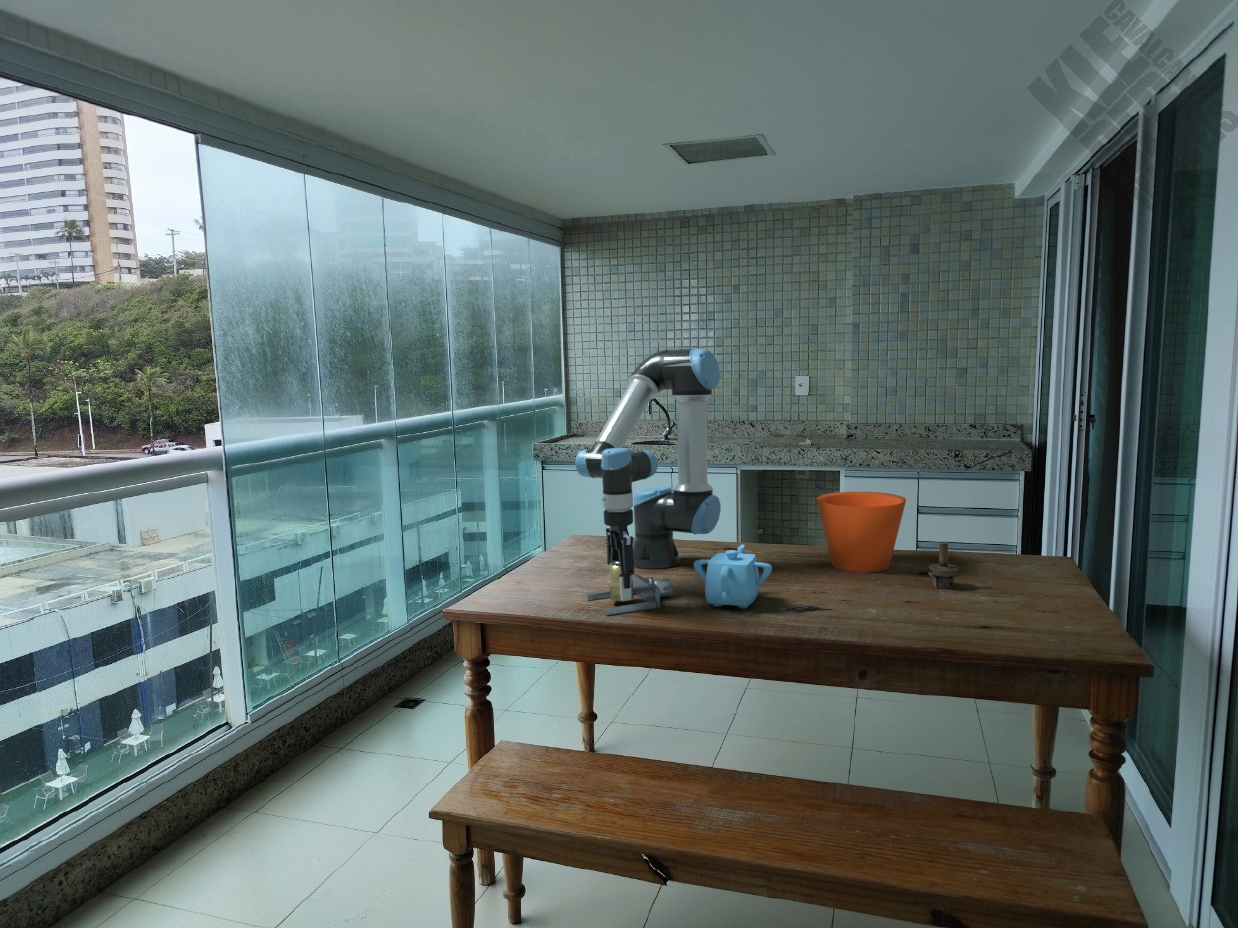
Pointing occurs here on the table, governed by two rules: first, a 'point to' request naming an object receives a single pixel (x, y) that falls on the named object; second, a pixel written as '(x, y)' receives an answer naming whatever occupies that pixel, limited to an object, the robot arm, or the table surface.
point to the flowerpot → (861, 528)
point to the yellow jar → (616, 581)
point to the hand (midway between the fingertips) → (621, 596)
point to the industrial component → (943, 569)
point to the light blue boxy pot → (732, 578)
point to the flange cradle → (639, 594)
